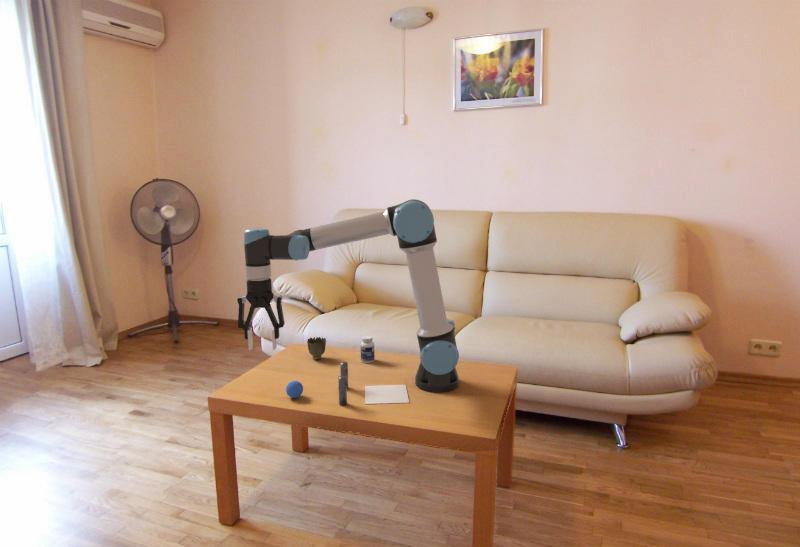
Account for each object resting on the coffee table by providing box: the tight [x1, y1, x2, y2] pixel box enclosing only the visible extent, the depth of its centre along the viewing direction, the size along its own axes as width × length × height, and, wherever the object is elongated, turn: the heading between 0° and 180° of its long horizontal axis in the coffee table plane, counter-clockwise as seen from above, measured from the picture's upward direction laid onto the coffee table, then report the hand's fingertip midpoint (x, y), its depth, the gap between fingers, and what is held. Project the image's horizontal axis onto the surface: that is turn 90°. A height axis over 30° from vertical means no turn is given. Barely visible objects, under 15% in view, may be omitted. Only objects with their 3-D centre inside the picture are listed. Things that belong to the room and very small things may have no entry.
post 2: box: [337, 375, 348, 406], centre depth 161 cm, size 2×2×9 cm
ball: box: [285, 380, 304, 399], centre depth 166 cm, size 6×6×6 cm
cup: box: [306, 336, 327, 361], centre depth 201 cm, size 8×7×8 cm
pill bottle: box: [360, 335, 375, 364], centre depth 199 cm, size 5×5×10 cm
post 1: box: [339, 361, 349, 390], centre depth 173 cm, size 2×2×9 cm
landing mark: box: [364, 384, 410, 405], centre depth 169 cm, size 14×14×1 cm
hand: (262, 348), depth 163 cm, fingers open, 7 cm apart
